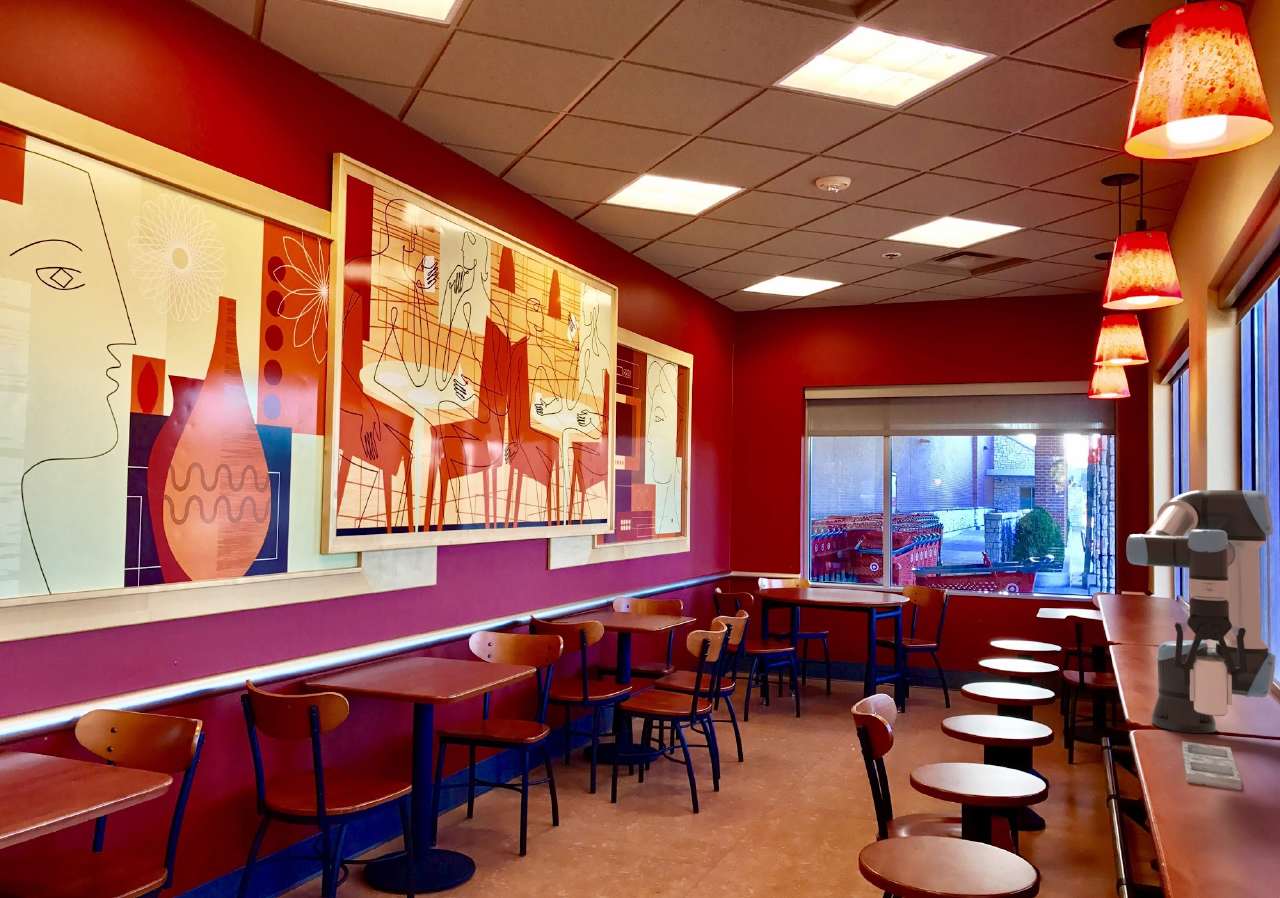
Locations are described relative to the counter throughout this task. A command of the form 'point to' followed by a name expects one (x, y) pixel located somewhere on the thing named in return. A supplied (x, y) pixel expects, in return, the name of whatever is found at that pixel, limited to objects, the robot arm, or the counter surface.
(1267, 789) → the counter surface
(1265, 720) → the counter surface
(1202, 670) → the can
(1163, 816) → the counter surface
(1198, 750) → the holder
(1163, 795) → the counter surface
